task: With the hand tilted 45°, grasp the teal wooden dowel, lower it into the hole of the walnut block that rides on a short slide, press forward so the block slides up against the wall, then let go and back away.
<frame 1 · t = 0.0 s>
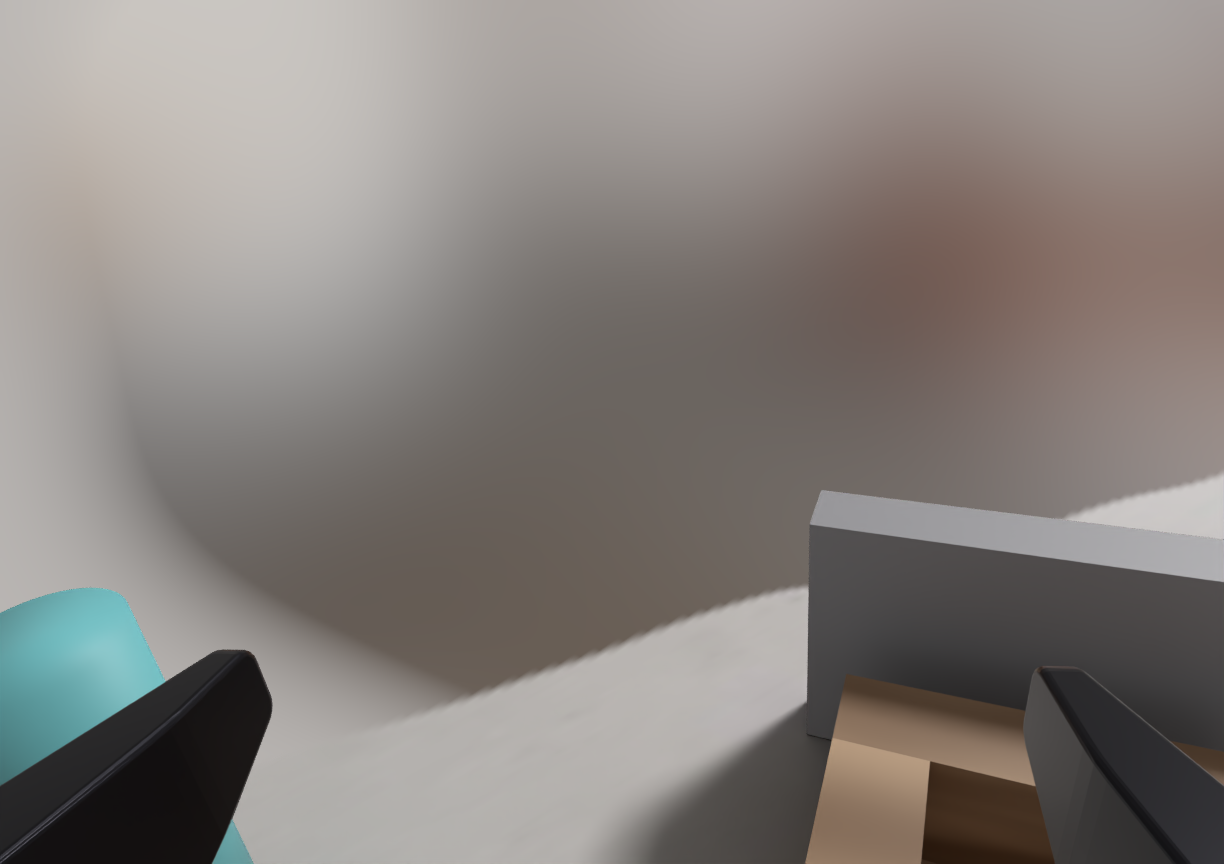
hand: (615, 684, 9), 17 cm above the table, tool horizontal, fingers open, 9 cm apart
backstop wall: (1025, 761, 27), on the table
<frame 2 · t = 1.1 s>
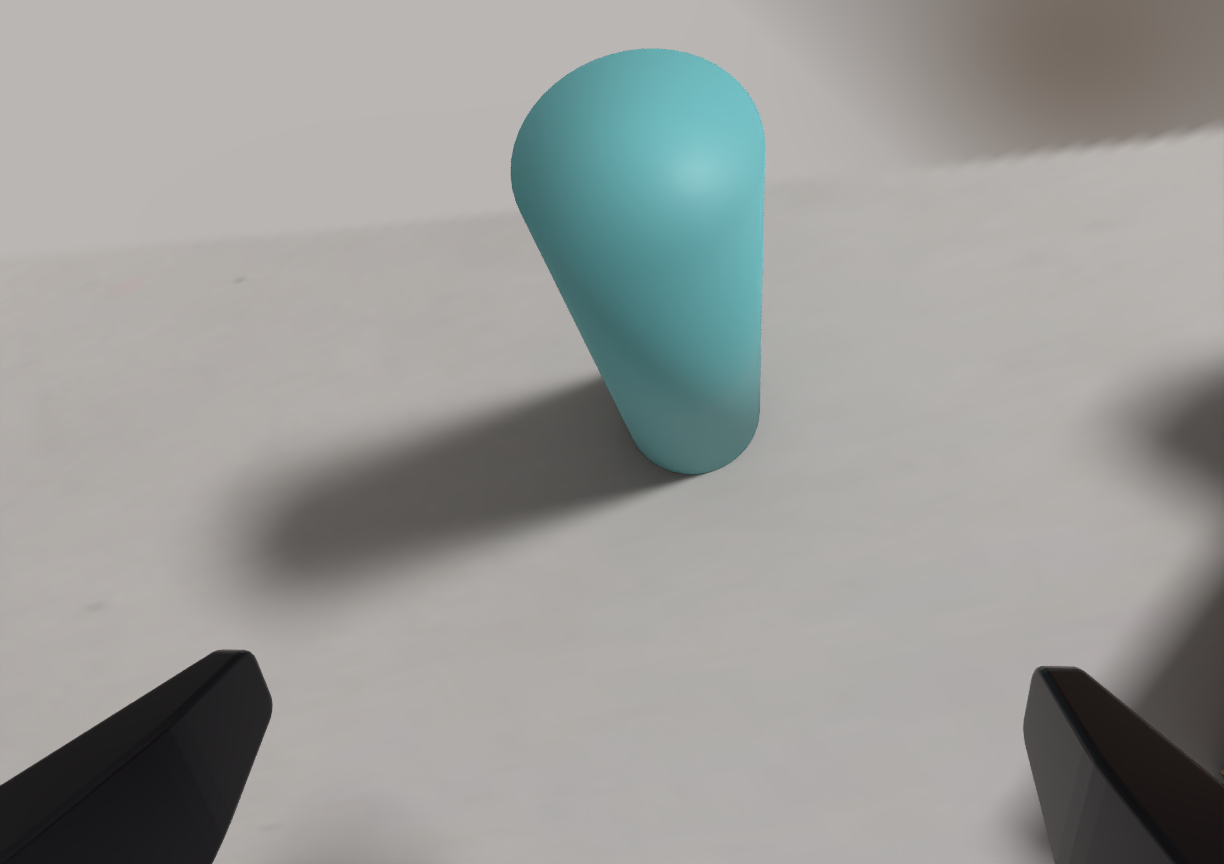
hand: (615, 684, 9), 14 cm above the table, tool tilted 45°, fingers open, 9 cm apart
dowel: (692, 410, 24), on the table
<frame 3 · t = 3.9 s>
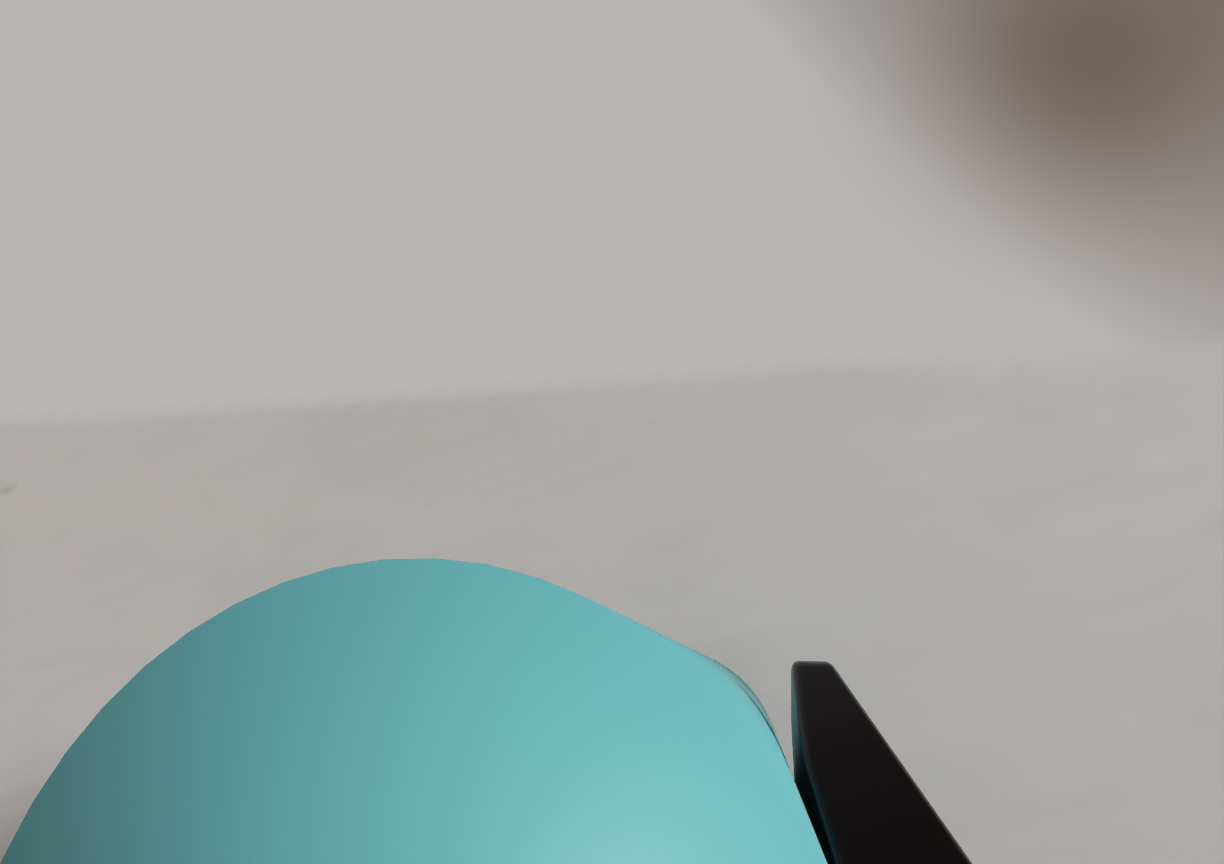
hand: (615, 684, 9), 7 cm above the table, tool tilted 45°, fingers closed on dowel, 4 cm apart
dowel: (670, 760, 15), on the table, touching gripper
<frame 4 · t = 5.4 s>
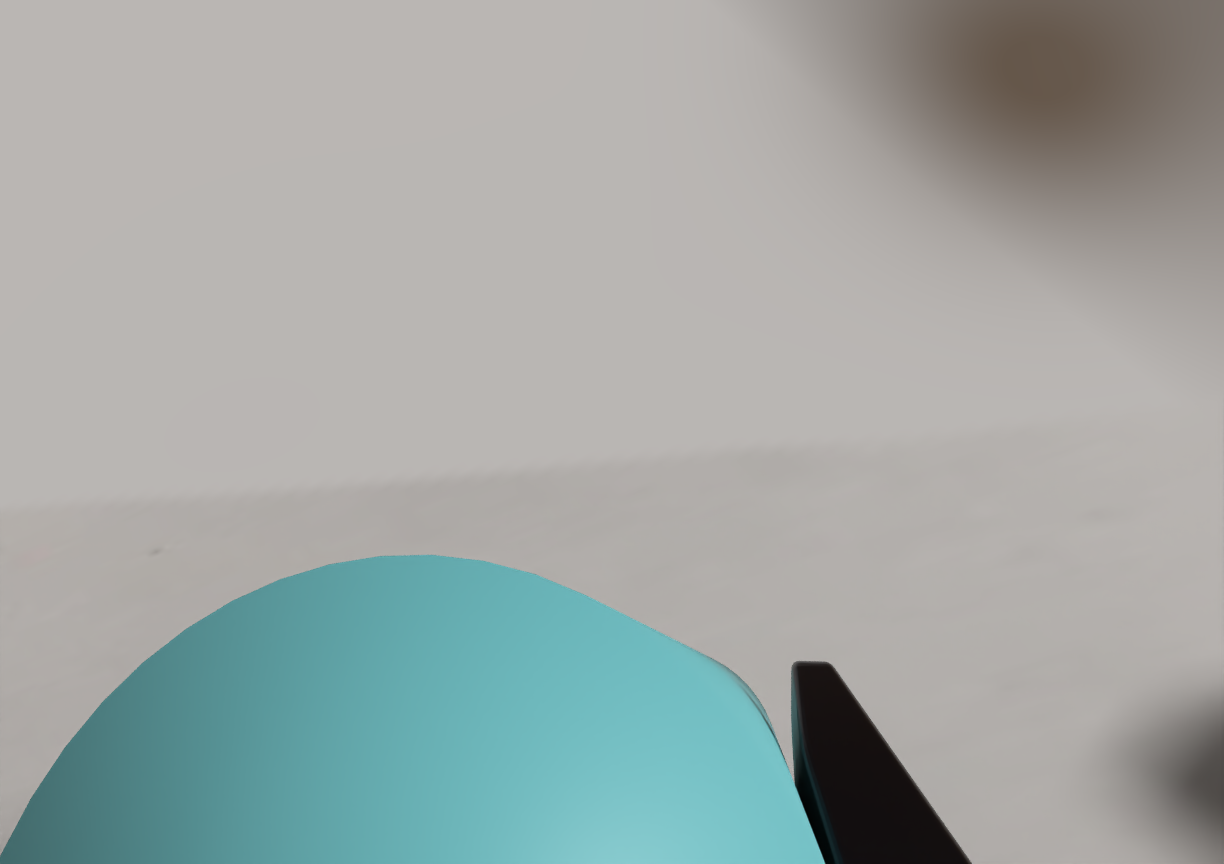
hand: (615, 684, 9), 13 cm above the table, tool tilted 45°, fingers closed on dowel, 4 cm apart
dowel: (670, 759, 15), point 7 cm above the table, touching gripper
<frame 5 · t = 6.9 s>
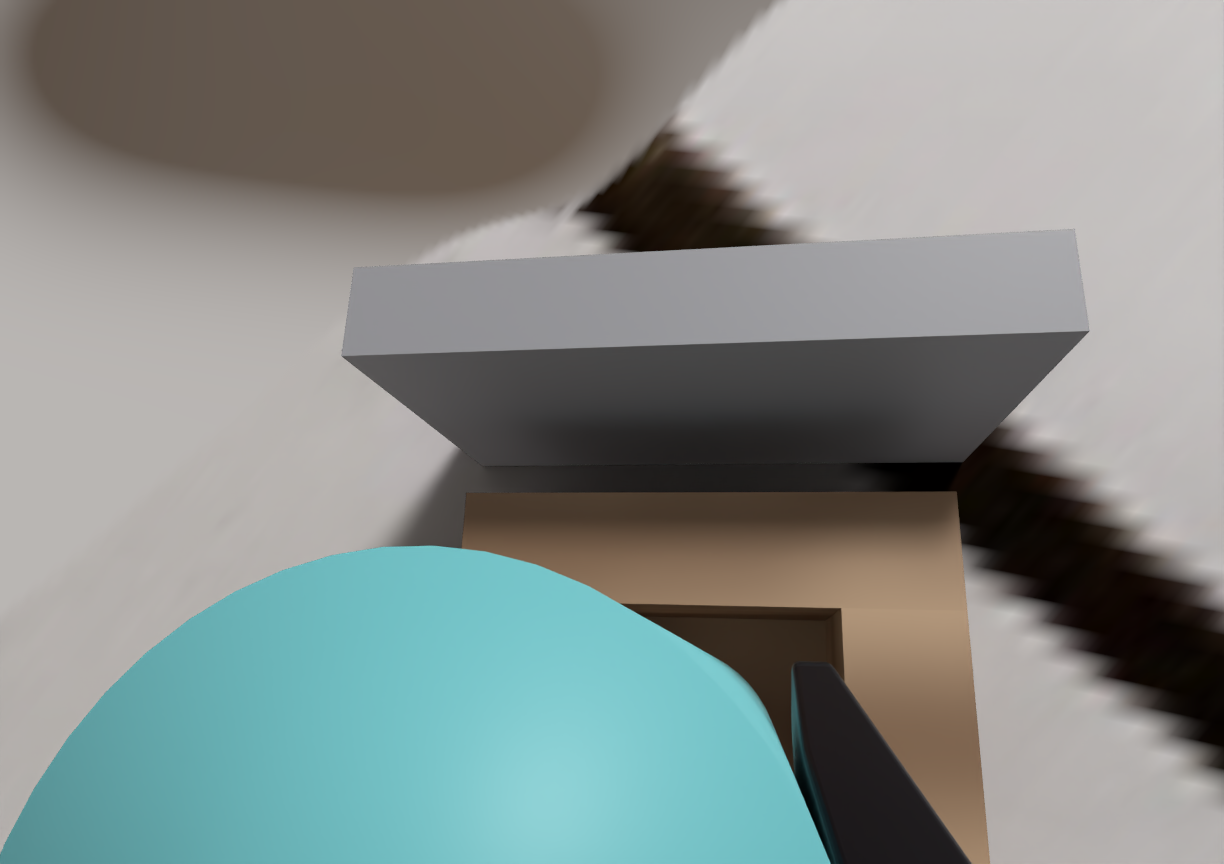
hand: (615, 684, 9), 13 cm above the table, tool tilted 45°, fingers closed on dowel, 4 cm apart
hole block: (704, 743, 19), point 3 cm above the table, slide at 0.0 cm
backstop wall: (710, 431, 24), on the table
dowel: (670, 756, 15), point 7 cm above the table, touching gripper
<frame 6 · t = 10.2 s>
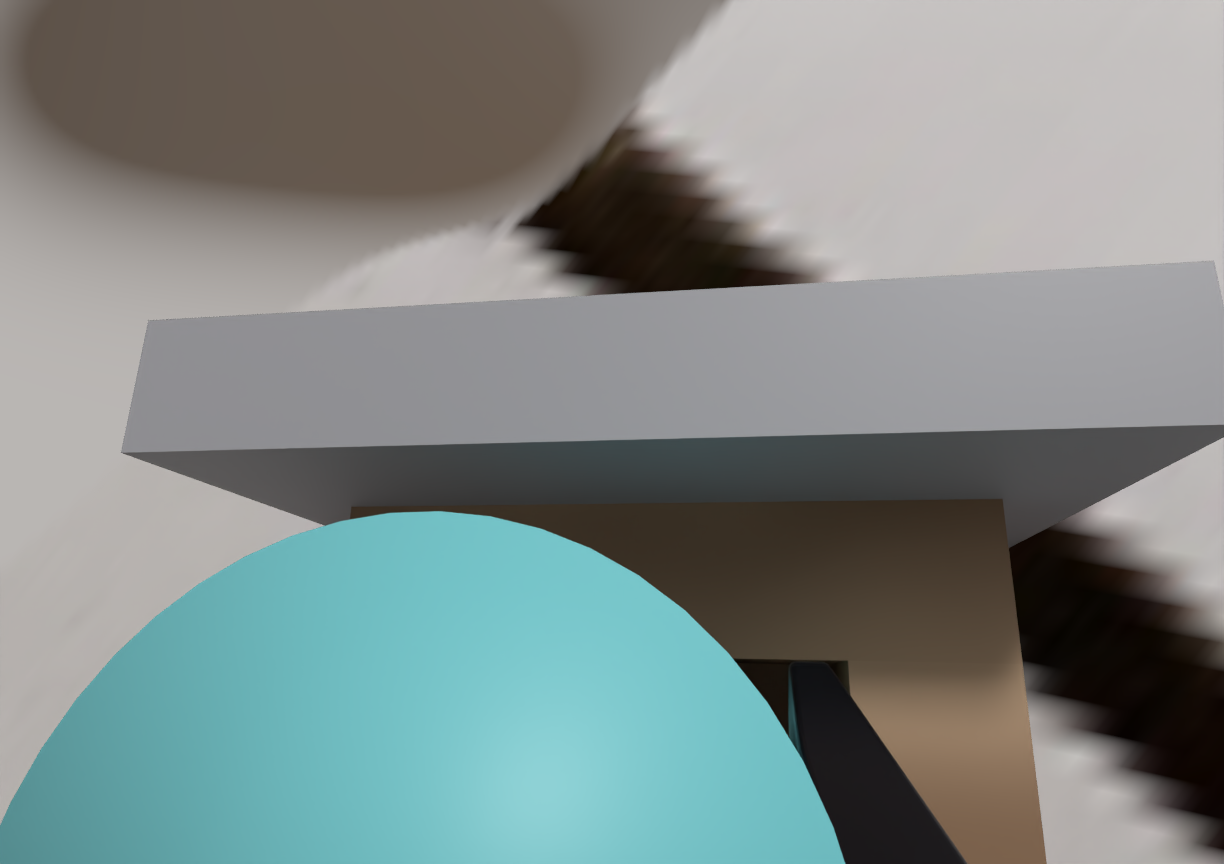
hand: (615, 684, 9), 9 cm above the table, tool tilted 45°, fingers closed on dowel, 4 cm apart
hole block: (669, 835, 14), point 3 cm above the table, slide at 2.0 cm, touching backstop wall, dowel
backstop wall: (681, 506, 19), on the table
dowel: (670, 779, 15), point 2 cm above the table, touching gripper, hole block
when the fingers open (9 cm above the table, at t = 10.3 s): dowel drops 1 cm, resting on hole block.
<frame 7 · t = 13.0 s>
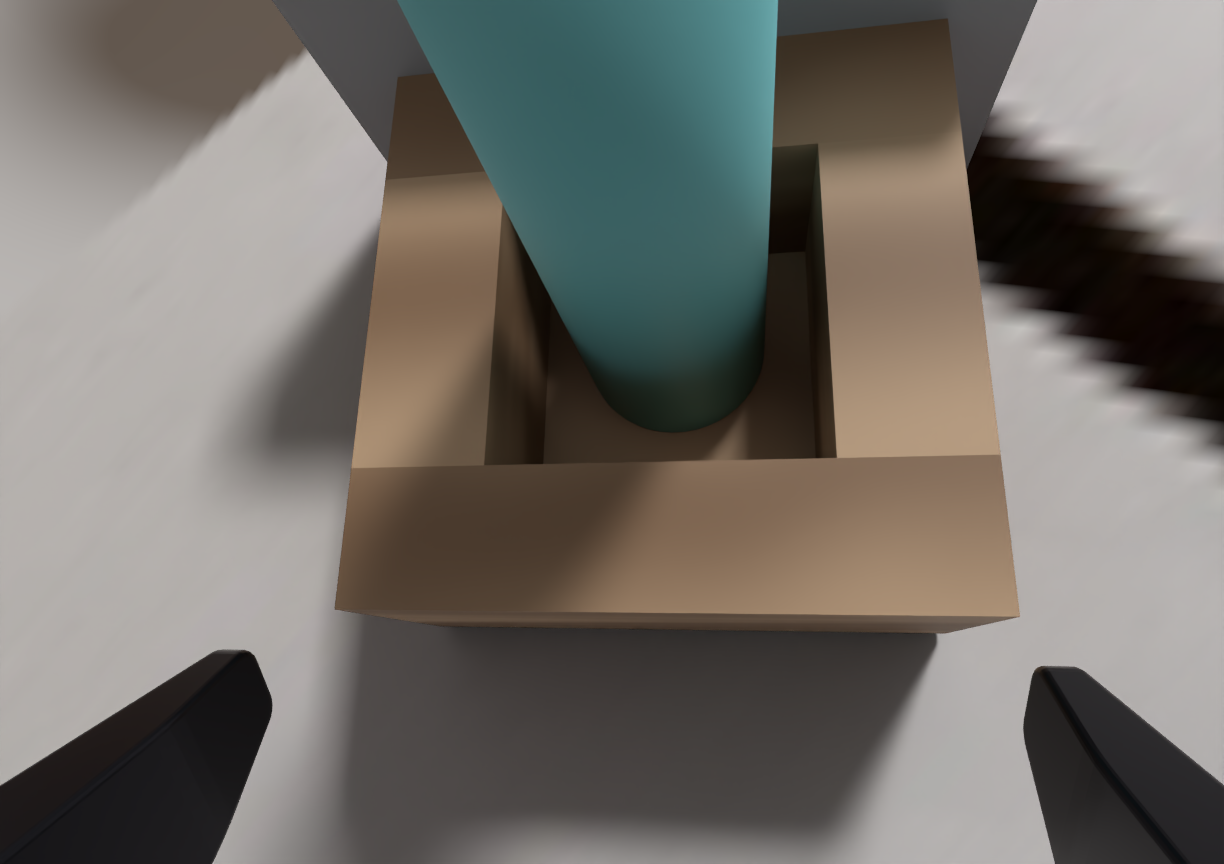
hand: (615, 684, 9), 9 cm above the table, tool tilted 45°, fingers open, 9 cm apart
hole block: (669, 353, 17), point 3 cm above the table, slide at 2.0 cm, touching dowel
backstop wall: (679, 163, 21), on the table
dowel: (675, 349, 18), point 1 cm above the table, touching hole block
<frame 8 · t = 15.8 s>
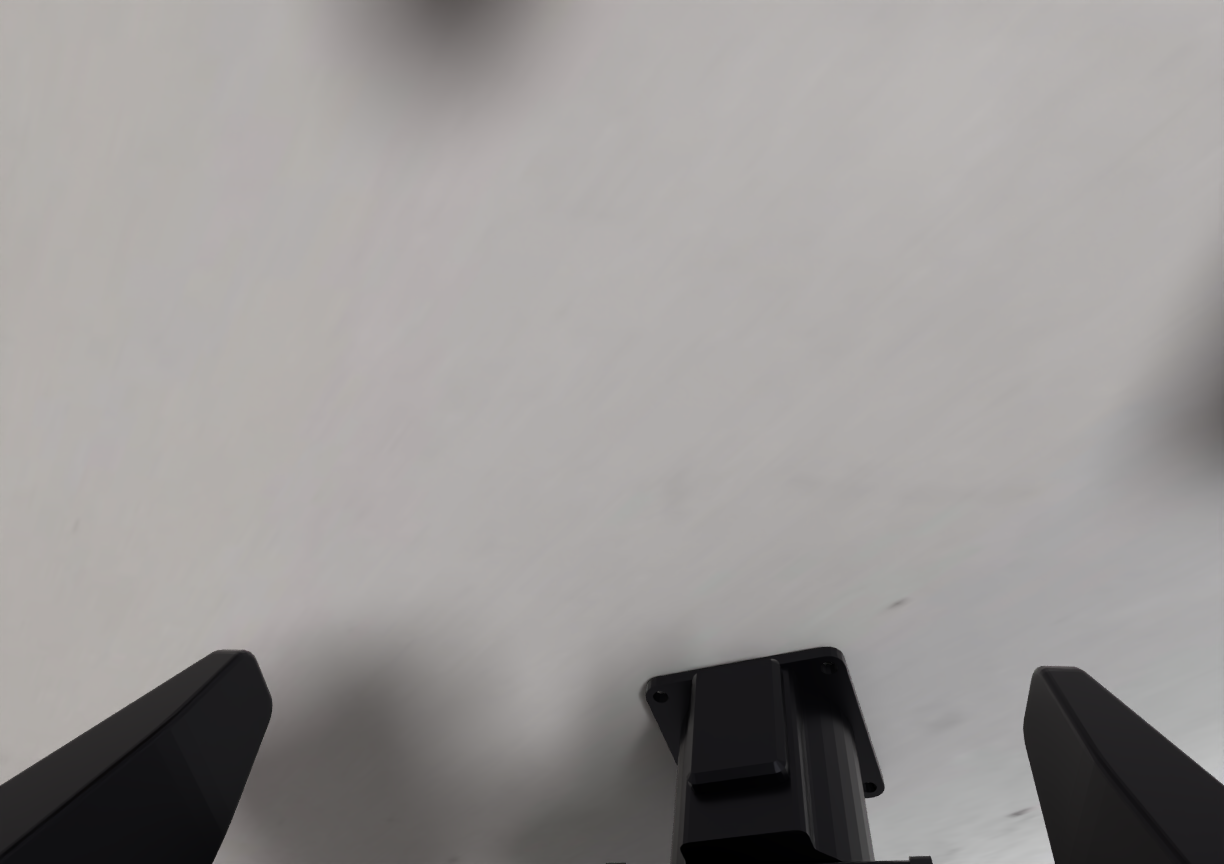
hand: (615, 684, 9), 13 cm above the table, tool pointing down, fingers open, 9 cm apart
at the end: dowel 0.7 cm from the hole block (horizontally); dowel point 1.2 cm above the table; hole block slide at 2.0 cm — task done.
